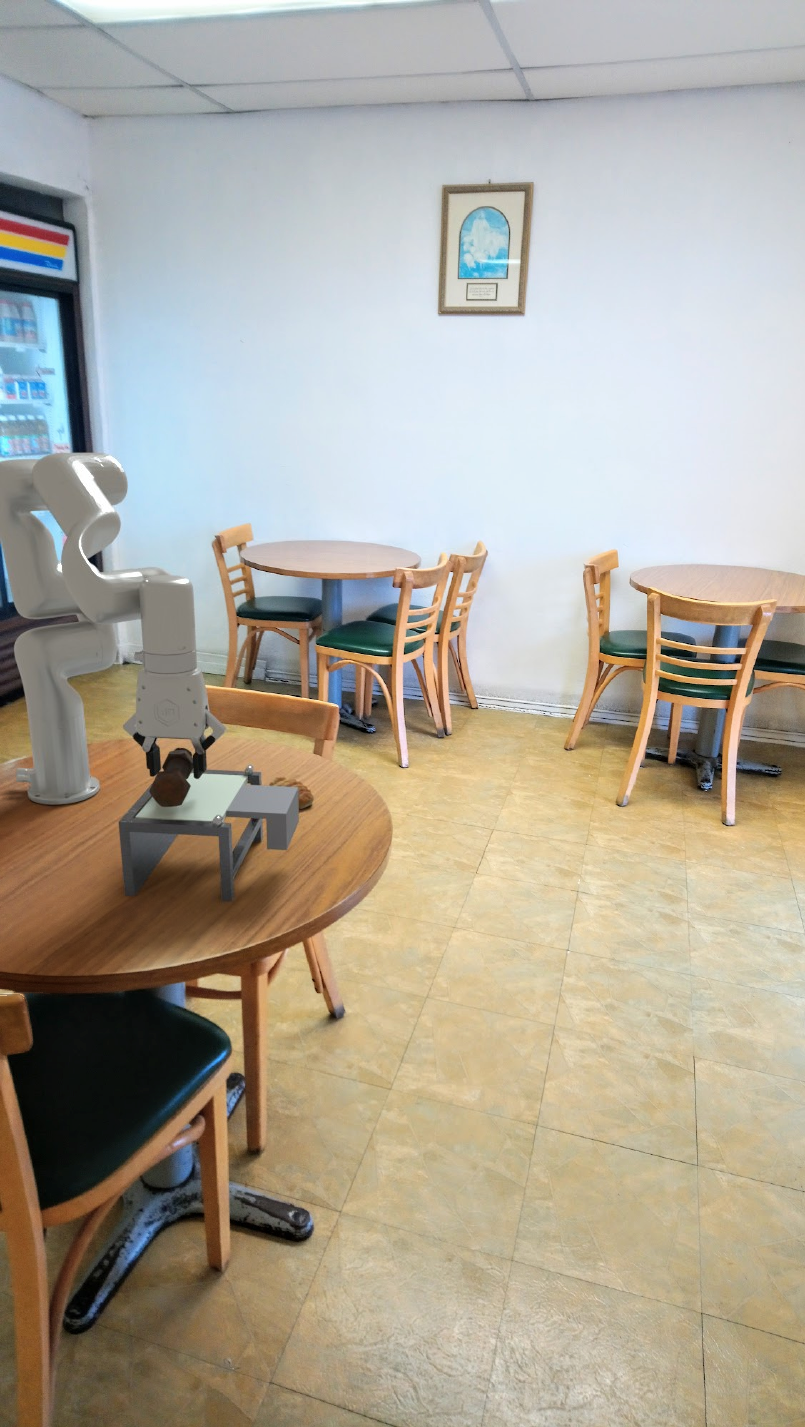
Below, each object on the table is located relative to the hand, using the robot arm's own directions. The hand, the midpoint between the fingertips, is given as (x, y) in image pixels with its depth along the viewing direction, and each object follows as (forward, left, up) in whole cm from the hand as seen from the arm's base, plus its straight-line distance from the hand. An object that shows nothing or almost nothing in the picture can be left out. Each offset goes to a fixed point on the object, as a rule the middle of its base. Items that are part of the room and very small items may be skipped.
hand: (177, 773), depth 133 cm
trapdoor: (+7, 0, -9) cm, 12 cm away
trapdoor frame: (+3, 0, -15) cm, 16 cm away
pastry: (+12, +27, -16) cm, 33 cm away
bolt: (0, -1, -2) cm, 2 cm away
